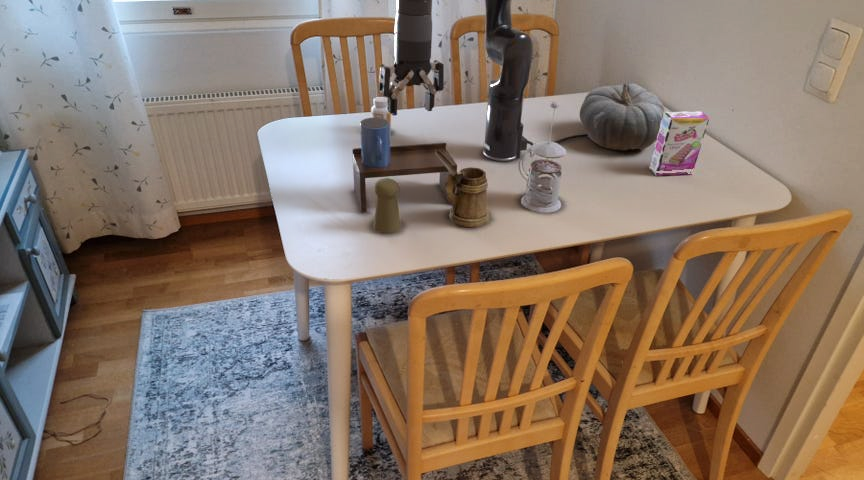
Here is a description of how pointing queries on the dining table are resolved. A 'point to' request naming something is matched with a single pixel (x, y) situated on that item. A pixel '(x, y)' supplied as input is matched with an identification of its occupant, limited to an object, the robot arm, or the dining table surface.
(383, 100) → the supplement bottle
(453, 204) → the wooden mug
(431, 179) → the dining table surface
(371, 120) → the cup
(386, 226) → the olive green peg figure
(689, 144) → the candy bar box
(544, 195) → the french press
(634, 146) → the gourd
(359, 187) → the brown wooden shelf
